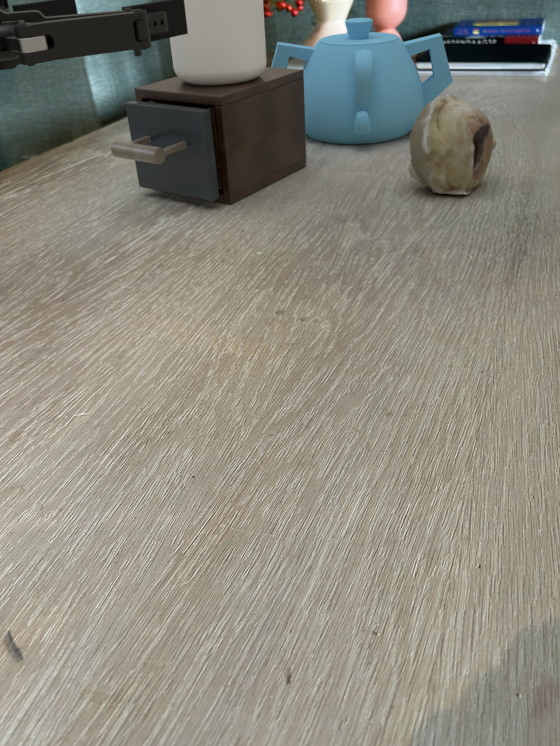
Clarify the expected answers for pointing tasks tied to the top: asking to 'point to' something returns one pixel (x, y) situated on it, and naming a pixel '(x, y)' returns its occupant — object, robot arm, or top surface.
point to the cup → (220, 42)
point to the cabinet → (249, 126)
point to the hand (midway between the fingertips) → (126, 14)
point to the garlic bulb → (450, 146)
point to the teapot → (365, 83)
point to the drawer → (174, 147)
